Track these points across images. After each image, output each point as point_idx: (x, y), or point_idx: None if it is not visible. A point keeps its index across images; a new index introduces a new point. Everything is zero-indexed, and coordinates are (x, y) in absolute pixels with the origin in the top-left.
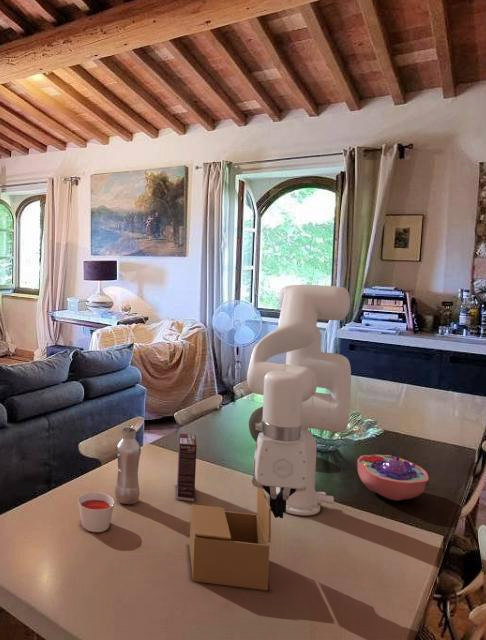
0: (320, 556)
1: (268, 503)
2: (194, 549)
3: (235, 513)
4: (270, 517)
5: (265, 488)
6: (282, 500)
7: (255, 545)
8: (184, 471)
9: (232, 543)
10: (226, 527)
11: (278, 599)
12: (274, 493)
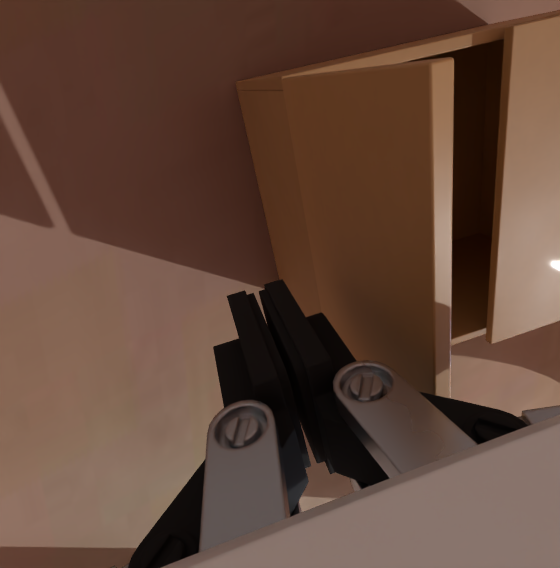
0: (76, 387)
1: (438, 195)
2: None
3: None
4: (366, 71)
5: (498, 418)
6: (266, 381)
7: (359, 58)
8: None
9: (480, 30)
10: (515, 150)
11: (190, 34)
12: (375, 407)
